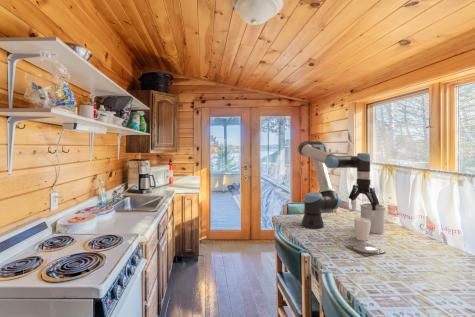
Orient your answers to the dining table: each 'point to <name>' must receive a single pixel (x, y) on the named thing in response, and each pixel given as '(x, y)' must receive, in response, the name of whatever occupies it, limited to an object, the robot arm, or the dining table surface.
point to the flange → (365, 249)
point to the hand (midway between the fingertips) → (362, 213)
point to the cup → (362, 228)
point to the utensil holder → (374, 217)
